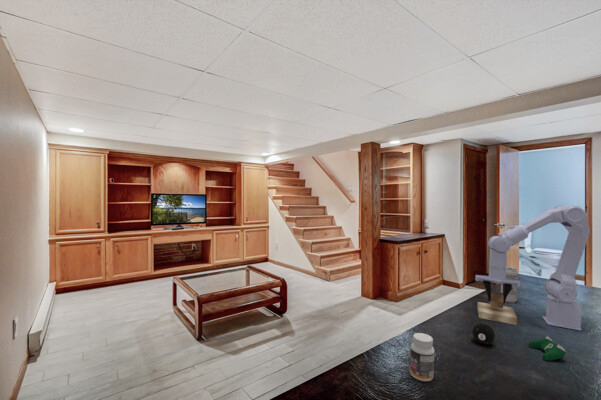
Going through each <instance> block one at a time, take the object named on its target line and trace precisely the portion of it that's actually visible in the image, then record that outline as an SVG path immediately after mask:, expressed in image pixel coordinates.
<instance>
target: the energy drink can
mask: <svg viewBox="0 0 601 400" xmlns="http://www.w3.org/2000/svg"><path fill="white" fill-rule="evenodd" d="M518 277H519V272H518V271H517V267H512V266H507V269H506V278H507V279H512V280H518V279H519V278H518ZM518 281H519V280H518ZM500 292H501V293H503V284H500ZM517 301H518V287H517V286H513V285H512V289H511V291H510V292H509V294H508V296H507V298H506V301H505V303H511V304H514V303H516V302H517Z"/></svg>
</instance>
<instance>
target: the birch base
mask: <svg viewBox="0 0 601 400" xmlns="http://www.w3.org/2000/svg"><path fill="white" fill-rule="evenodd" d="M476 306H477V314H478V318H479V319H483V320H489V321H494V322H500V323H506V324H508V325H509V324H510V325H515V326H518V316H517V314H516V313H515V310H514V308H513V307H510V306H505V305H503V308H497V307H491V306H490V303H486V302H480V301H477V303H476Z"/></svg>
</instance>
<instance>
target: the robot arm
mask: <svg viewBox="0 0 601 400" xmlns="http://www.w3.org/2000/svg"><path fill="white" fill-rule="evenodd" d="M588 217H589V214H588V213H587V211H585V210H584V208H582V207H580V206H578V205H563V204H561V205H556V206H554V207H553V208H549V209H548V210H546V211H544V212H543V213H541V214H540V215H538V216H536V217H535V218H532V220H530V221H528V222H526V223H525V224H523V225H519V224H518V225H510V226H509V228H508V229H507V230H505V231H503V232H499V233H498V235H493V236H492V237H490V238H489V240H488V241H487V246H488V248H489V259H488V275H481V274H480V275H479V274H475V281H476V282H482V284H483V286H484V288H485V290H486V294H487V300H488V302H490V301H491V291H492V285H491V284H493V283H494V284H499V285H501V284H503V295H504V297H503V305H504V304H506V302H505V301H506V298H507V296H508V294H509V292H510V291H511V289H512V285H513V286H517V288H521V281H520V280H512V279H507V278H506V269H507V267H508V265H507V263H508V262H507V261H508V251H509V250H510V249H511V247H513V246H514V245H517V244H518V243H521V242H522V241H524V240H526V239H528V237H529V234H530V233H532V232H534V231H536V230H538V229H540V228H542V227H545V226H547V225H548V224H551V223H553V224H554V223H559V224H561V225H562V226H563V227H564V228H565V229H566V230H567V232H568V234H567V237H566V240H565V243H564V245H563V249H562V251H561V255H560V258H559V261H558V264H557V266H556V269H555V271H554V272H553V273H551V274H550V276H549V278H548V279H547V280H546V281H545V282H544V285H543V288H544V290H545V292H546V293H547V294H546V295H547V296H546V311H545V312H546V314H545V316H542V319H543V320H544V321H545V323H546V324H547V325H549V326H554V327H560V328H565V329H570V330H575V331H576V330H577V331H582V314H583V313H582V312H583V311H582V307H581V304H580V303H579V302H577V301H576V300H577V297H578V292H577V288H578V287H577V286H578V283H577V281H576V274H577V271H578V268H579V265H580V263H581V260H582V256H583V254H584V250H585V248H586V246H587V242H588V240H589V236H590V234H591V229H590V225H589V221H588Z"/></svg>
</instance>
